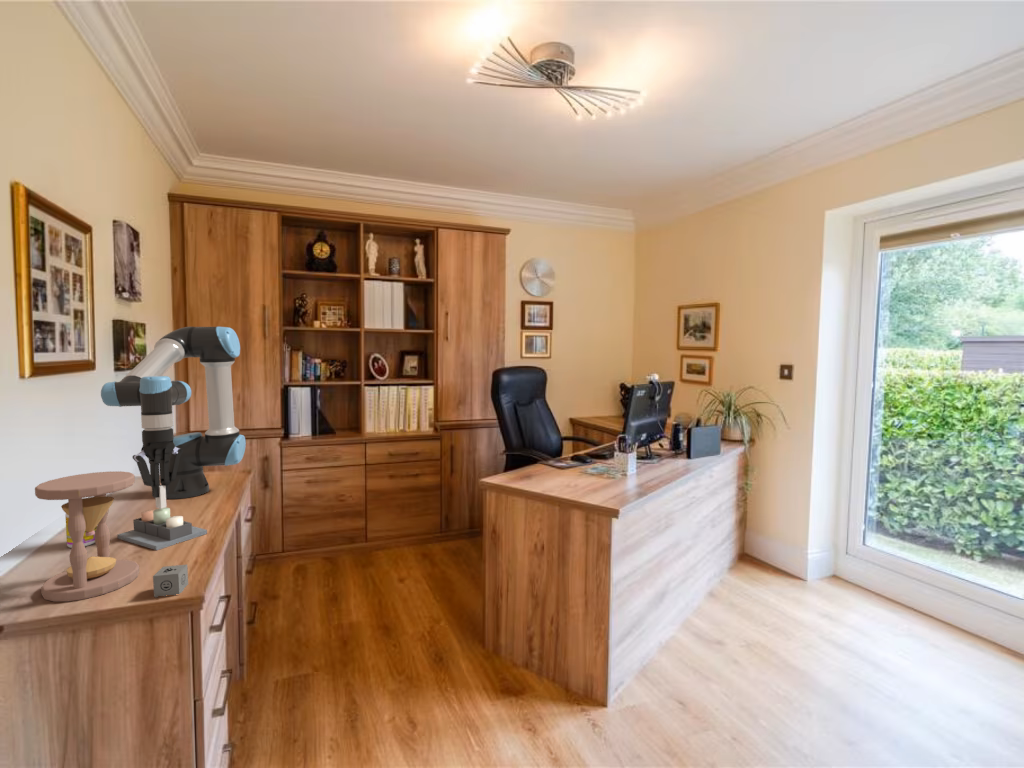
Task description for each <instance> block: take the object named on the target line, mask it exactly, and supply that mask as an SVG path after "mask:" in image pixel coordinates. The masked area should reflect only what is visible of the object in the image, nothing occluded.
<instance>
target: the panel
mask: <svg viewBox="0 0 1024 768" xmlns="http://www.w3.org/2000/svg"><path fill="white" fill-rule="evenodd" d="M207 534H208V529H205V528H201V527H197V526H193V525H192V522H189V521H185V520H183V525H181V526H178V527H175V528H171V529H170V528H166V523H164V524H160V525H155V524H154V520H151V521H147V522H144V521H142V518H141V517H139V518H135V519H133V529H132V530H128V531H124V532H121V533H118V534H117V539H118V540H122V541H125V542H128V543H130V544H135V545H138V546H140V547H145V548H147V549H152V550H153V551H159V550H162V549H165V548H168V547H172V546H174V545H177V544H180V543H183V542H185V541H189V540H192V539H195V538H199V537H201V536H204V535H207ZM179 542H180V543H179ZM176 543H177V544H176Z"/></svg>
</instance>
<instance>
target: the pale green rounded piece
mask: <svg viewBox="0 0 1024 768" xmlns="http://www.w3.org/2000/svg"><path fill="white" fill-rule="evenodd" d="M153 510H154V511H153V519H154V524H155V525H160V524H164V523H166V519H167V518H169V517H171V508H170V507H165V508H156V509H153Z"/></svg>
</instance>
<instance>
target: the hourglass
mask: <svg viewBox="0 0 1024 768" xmlns="http://www.w3.org/2000/svg"><path fill="white" fill-rule="evenodd" d="M135 481H136V480H135V474H134V473H133V472H129V471H121V470H120V471H119V470H118V471H97V472H88V473H81V474H74V475H68V476H63V477H59V478H55V479H49V480H47V481H44V482H42V483H39V484H37V485H36V486H35V487H34V495H35V497H36V498H37V499H39V500H45V501H65V500H67V502H66V503H63V504H62V505H61V506H60V507H61V509H62V511H63V512H64V513H65V515H66V514H67V515H68V516H69V520H68V532H69V534H70V537H71V539H72V541H73V545H72V548H70V552H69V562H70V563H69V564H70V567H68V568H67V569H66V570H65V571H62V572H60V573H57V574H56V575H53V576H52V577H50V578H48V579H47V580H46V581H45V582H44V583H43V584H42V585H41V589H40V590H41V591H40V592H41V596H42V597H43V599H44V600H46V601H51V602H54V603H59V602H60V603H61V602H62V603H63V602H64V603H65V602H75V601H81V600H87V599H90V598H91V599H92V598H94V597H97V596H102V595H106V594H108V593H111V592H114V591H116V590H118V589H122V588H123V587H124V586H125V587H126V586H127V585H129V584H131V583H132V582H133V581H134V580H136V579H137V578H138V577H139V574H140V564H138V563H137V561H135V560H129V559H117V558H115V557H111V556H110V542H111V532H110V529H109V527H108V525H107V518H108V515H109V513H110V512H109V511H110V507H112V505H113V502H114V500H115V497H113V496H107V495H108V494H111V493H115V492H119V491H122V490H126V489H128V488H129V487H132V486H133V485H134V483H135ZM82 498H84V499H82ZM96 526H97V528H96V532H95V531H94V529H95V527H96ZM85 530H86V531H87V532H86V533H85V534H86V536H91V535H94V534H95V543H94V544H95V546H96V551H97V552H96V553H97V556H89V557H88V551H87V548H86V546H84V544H83V542H82V540H83V536H84V532H85ZM135 578H136V579H135ZM118 583H119V584H118Z"/></svg>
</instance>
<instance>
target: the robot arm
mask: <svg viewBox="0 0 1024 768" xmlns="http://www.w3.org/2000/svg"><path fill="white" fill-rule="evenodd" d="M240 354H241V344H240V340H239V336H238V334H237V333H236V331H235V330H234V329H233V328H231V327H229V326H228V327H227V326H185V327H180V328H177V329H175V330H173V331H170V332H168V333H167V334H165V335H164V336H162V337H161V338H160V339H158V341H156V342H155V344H154V348H153V349H152V351H151V352H149V354H147V355H146V356H145V358H143V359H142V360H141V361H139V363H138V364H137V365H136V366H135V367H133V369H132V370H130V371H129V372H128V373H126V375H125V376H124V377H123V378H122V379H121V380H119V381H115V380H114V381H111V382H110V381H109V382H105V383H104V384H103V386H102V387H101V390H100V398H101V401H102V403H103V404H104V405H106V406H107V407H119V408H122V407H140V416H141V417H140V419H141V422H140V423H141V429H143V430H141V441H142V447H141V450H140V452H138V453H137V454H134V455H132V460H134V462H135V463H136V464H137V467H138V471H139V474H140V476H141V480H142V483H143V485H144V486H147V487H151V495H152V498H153V499H155V508H156V509H159V508H167V499H168V500H169V499H170V500H177V499H178V500H179V499H187V498H194V497H198V496H201V494H202V495H204V493H205V494H207V493H209V491H210V484H209V482H208V480H207V477H206V474H205V473H204V467H216V466H217V467H218V466H224V467H225V466H226V467H227V466H234V465H238V464H239V463H240V462H241V461H242V460H243V458H244V456H245V451H246V445H247V444H246V443H247V442H246V437H245V435H243V434H240V429H239V428H238V427H236V426H235V414H234V398H233V397H234V396H233V395H234V394H233V382H232V381H233V380H232V379H233V378H232V366H233V364H234V363H235V361H236V358H238V357H240ZM185 358H199V364H201V365H202V366H203V367H204V371H205V372H204V373H205V386H206V387H205V388H206V389H205V390H206V399H207V402H206V403H207V404H206V405H207V413H208V415H207V416H208V417H207V418H208V429H207V430H206V431H205V432H204V436H203V433H202V432H201V431H200V432H197V431H196V432H190V433H185V434H184V433H183V434H179V435H175V436H174V428H172V427H173V426H174V421H173V420H174V419H173V418H174V416H173V406H180V405H182V404H184V403H186V402H188V401H189V400H190V398H191V397H192V388H191V387H190V385H189V384H188V383H187V382H185V381H182V380H172V379H171V377H170V376H168V375H165V374H166V372H167V371H168V370H169V369H170V368H171V367H172V366H174V364H175V363H178V362H181V361H182V360H183V359H185ZM146 458H147V459H148V464H149V467H148V465H147V461H146ZM206 492H207V493H206Z"/></svg>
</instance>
